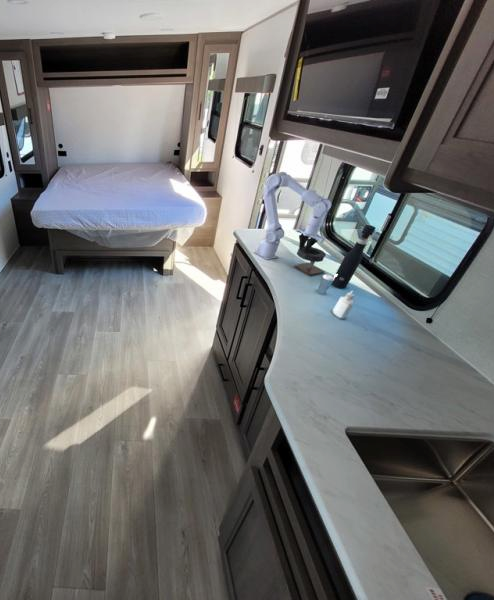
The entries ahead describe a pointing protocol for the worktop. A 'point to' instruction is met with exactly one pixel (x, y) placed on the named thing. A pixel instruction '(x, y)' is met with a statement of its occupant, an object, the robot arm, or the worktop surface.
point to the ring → (311, 254)
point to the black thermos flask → (352, 260)
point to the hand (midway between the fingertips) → (303, 249)
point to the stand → (309, 268)
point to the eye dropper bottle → (344, 305)
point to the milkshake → (325, 283)
